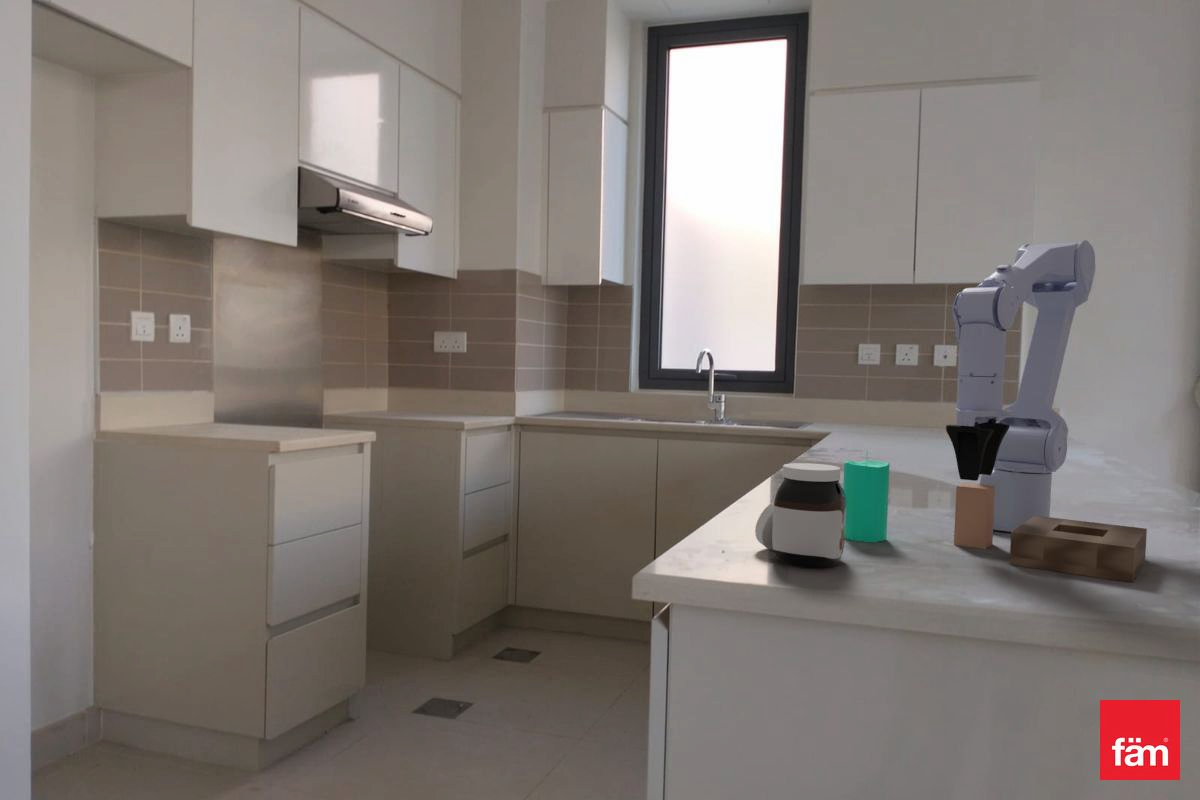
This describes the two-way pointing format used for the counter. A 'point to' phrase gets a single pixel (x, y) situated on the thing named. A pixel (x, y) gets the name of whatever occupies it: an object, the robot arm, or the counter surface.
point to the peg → (974, 515)
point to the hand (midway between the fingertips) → (976, 477)
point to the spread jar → (806, 517)
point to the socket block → (1079, 547)
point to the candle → (866, 500)
